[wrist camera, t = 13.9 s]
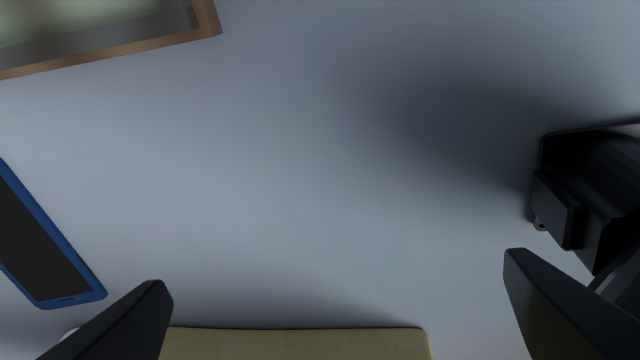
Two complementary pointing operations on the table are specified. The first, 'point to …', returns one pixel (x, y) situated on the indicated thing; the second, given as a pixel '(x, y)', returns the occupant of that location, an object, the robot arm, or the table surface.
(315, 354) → the cheese
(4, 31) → the picture frame
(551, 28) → the table surface
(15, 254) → the cell phone
